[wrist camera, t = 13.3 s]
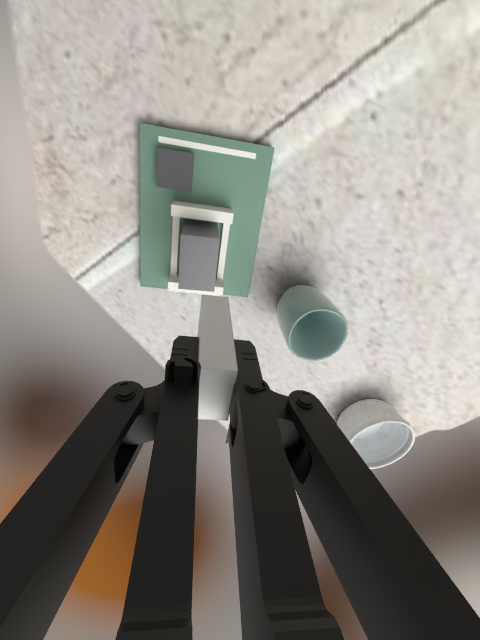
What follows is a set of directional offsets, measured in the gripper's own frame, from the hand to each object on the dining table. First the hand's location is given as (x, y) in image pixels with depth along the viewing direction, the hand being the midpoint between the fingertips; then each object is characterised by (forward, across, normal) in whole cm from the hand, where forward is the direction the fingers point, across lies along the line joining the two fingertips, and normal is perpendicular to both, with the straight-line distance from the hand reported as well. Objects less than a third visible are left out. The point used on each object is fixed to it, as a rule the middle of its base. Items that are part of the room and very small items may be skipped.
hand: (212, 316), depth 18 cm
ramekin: (+25, +35, -34) cm, 54 cm away
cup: (+25, +14, -10) cm, 30 cm away
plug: (+24, -1, -3) cm, 24 cm away
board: (+25, -1, 0) cm, 25 cm away
